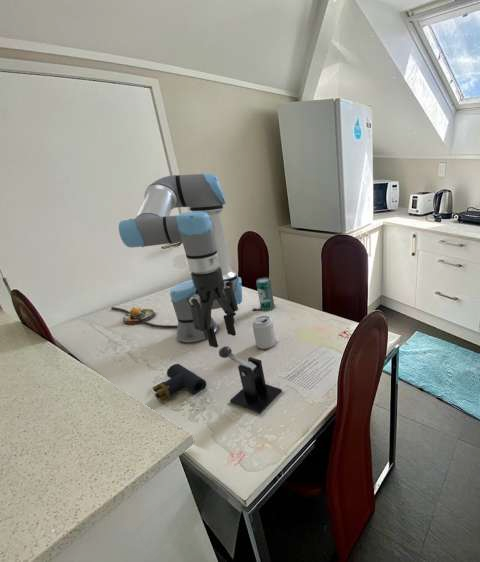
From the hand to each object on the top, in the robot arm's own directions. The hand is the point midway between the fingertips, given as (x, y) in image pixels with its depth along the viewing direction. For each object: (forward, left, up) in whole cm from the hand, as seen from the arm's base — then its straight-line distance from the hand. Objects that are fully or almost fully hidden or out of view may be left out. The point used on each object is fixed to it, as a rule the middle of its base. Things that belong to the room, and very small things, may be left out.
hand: (223, 339), depth 95 cm
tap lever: (+3, +1, -8) cm, 9 cm away
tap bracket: (+9, +2, -20) cm, 22 cm away
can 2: (-14, +21, -20) cm, 33 cm away
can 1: (-41, +40, -20) cm, 61 cm away
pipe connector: (-15, -12, -20) cm, 28 cm away
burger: (-81, -3, -20) cm, 84 cm away
